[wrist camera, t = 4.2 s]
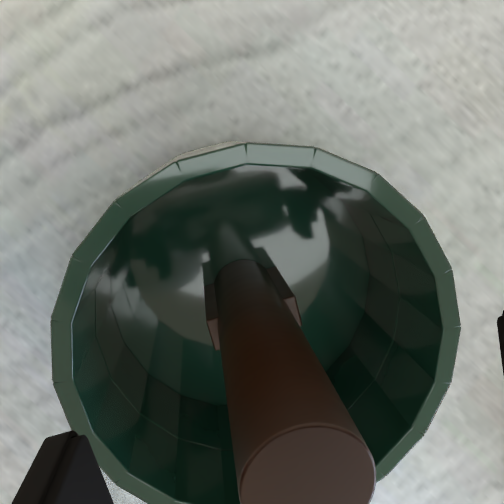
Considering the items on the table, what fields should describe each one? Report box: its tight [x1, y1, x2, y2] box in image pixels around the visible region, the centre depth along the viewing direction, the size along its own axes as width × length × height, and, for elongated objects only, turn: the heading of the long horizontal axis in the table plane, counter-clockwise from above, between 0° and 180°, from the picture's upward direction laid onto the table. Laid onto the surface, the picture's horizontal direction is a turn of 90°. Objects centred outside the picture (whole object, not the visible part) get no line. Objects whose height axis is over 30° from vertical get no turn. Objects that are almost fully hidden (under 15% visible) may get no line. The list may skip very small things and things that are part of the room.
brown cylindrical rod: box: [204, 260, 376, 504], centre depth 15 cm, size 3×3×12 cm
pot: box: [51, 141, 461, 504], centre depth 18 cm, size 12×12×7 cm
